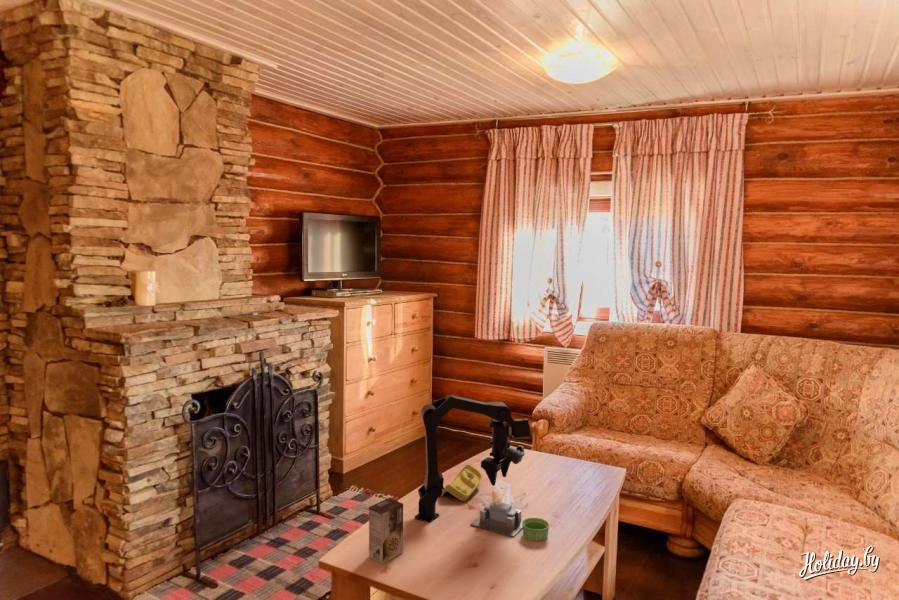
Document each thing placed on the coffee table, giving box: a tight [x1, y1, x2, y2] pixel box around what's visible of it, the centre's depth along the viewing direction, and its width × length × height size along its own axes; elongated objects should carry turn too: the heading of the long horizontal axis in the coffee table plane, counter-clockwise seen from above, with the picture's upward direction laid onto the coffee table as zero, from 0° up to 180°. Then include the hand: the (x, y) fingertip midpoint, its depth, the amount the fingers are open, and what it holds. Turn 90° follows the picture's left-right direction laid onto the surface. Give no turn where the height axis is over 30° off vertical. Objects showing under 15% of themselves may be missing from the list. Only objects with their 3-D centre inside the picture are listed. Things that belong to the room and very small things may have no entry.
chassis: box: [470, 507, 526, 538], centre depth 212 cm, size 14×16×4 cm
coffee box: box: [368, 497, 404, 565], centre depth 188 cm, size 9×6×16 cm
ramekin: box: [522, 517, 550, 542], centre depth 204 cm, size 9×9×4 cm
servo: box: [483, 500, 519, 524], centre depth 212 cm, size 4×11×7 cm, turn 60°
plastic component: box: [440, 463, 483, 502], centre depth 239 cm, size 20×7×10 cm
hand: (498, 481), depth 219 cm, fingers open, 9 cm apart
